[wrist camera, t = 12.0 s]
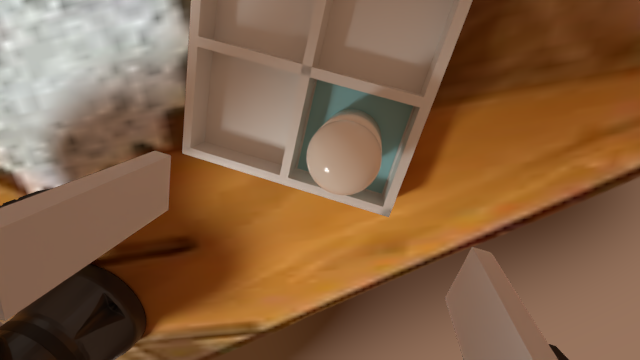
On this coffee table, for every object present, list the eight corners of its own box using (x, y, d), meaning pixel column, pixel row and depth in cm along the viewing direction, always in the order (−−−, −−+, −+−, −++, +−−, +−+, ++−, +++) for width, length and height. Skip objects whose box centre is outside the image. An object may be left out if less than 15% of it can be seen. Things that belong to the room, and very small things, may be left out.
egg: (370, 174, 28) (367, 217, 20) (315, 158, 29) (290, 194, 21) (389, 118, 26) (394, 141, 18) (330, 101, 27) (308, 117, 19)
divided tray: (388, 201, 30) (388, 217, 27) (202, 144, 32) (182, 153, 29) (477, -37, 22) (493, -54, 19) (222, -95, 24) (198, -120, 21)
